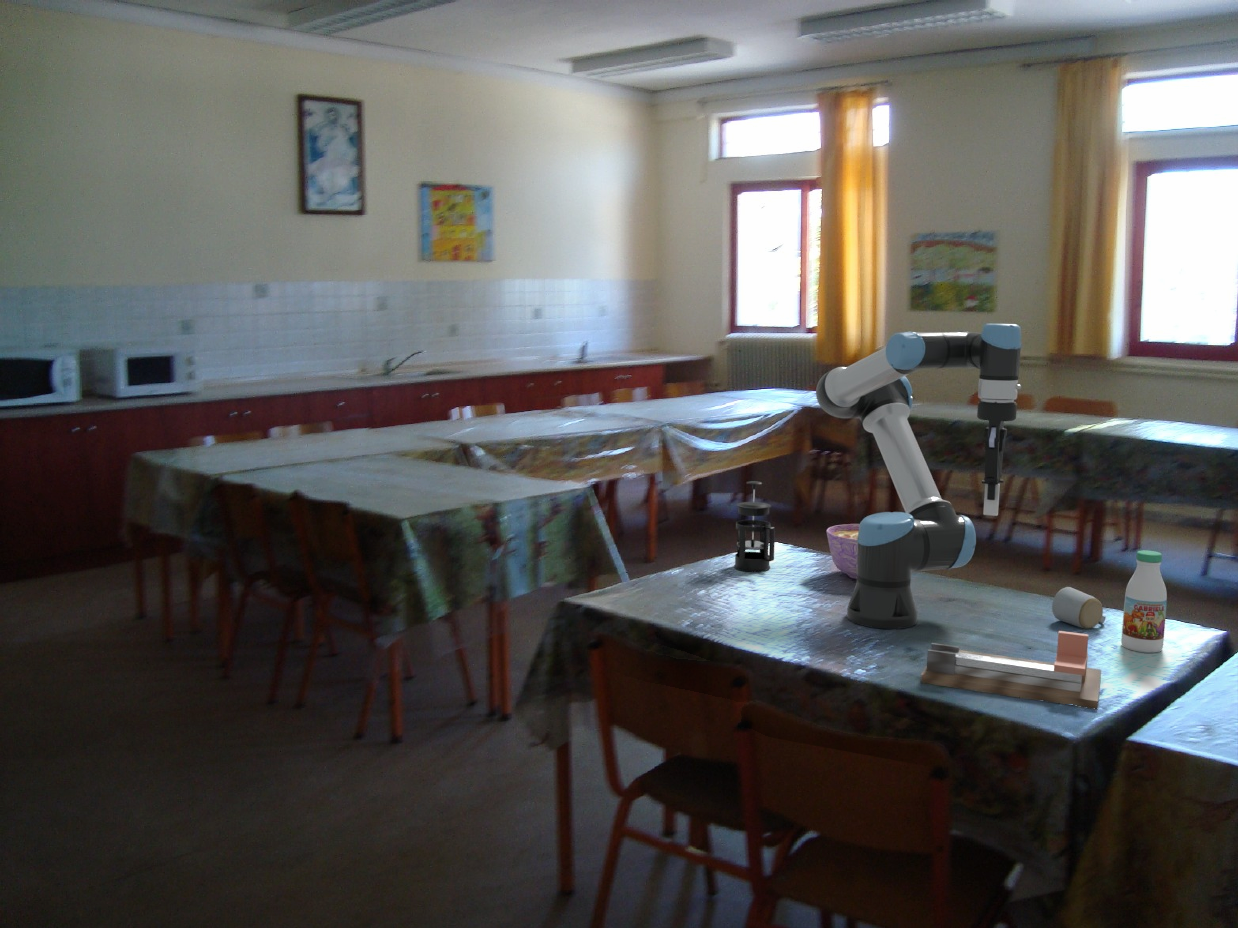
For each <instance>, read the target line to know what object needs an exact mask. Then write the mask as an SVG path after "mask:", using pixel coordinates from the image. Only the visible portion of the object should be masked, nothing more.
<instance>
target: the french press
mask: <svg viewBox="0 0 1238 928" xmlns="http://www.w3.org/2000/svg"><path fill="white" fill-rule="evenodd" d="M746 484H747V485H751V486H752V487H751V488H752V490H753V493H752V496H753V497H752V498H753V499H752V501H743V502H739V503H738V502H737V503H736V507H737V513H738V514H739V515H741V516H748V517H752V519H743V520H738V521H736V522H735V529H736V530H737V542H736V547H737V548H736V553H735V554H734V555H735V556H734V559H735V560H734V566H733V567H734V569H735V570H737V571H740V572H745V573H763V572H767V571H770V569H771V566H770V562H772V561H775V542H776V541H775V540H776V539H775V537H776V536H775V535H776V529H775V526H771V522H769V521H765V520H758V519H755V517H762V516H767V515H770V508H772V505H771V504H769V503H767V502H759V501H755V499H756V497H755V495H756V489H757V486H761V485H762V484H763V482H761V481H757V480H753V481H752V480H751V481H746ZM747 532H750V533H751V535H752V536H751V538H752V539H750V540H747V539H746V537H747V535H746V534H747ZM755 533H759V540H755V539H754V535H755ZM746 550H751V551H746ZM752 550H753V551H752ZM757 550H758V551H757Z"/></svg>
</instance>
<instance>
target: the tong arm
mask: <svg viewBox="0 0 1238 928" xmlns="http://www.w3.org/2000/svg"><path fill="white" fill-rule="evenodd" d="M944 652H951V653H956V659H955V665H961V666H968V667H975V668H982V669H988V670H995V671H1002V672H1009V673H1016V674H1023V675H1030V676H1036V677H1043V678H1050V679H1057V680H1064V681H1071V682H1078V683H1081V679H1082V675H1077V674H1070V673H1063V672H1056V671H1054V666H1052V665H1045V664H1038V663H1031V662H1024V661H1017V660H1010V659H1003V658H996V657H989V656H981V655H974V654H967V653H960V652H953V651H946V650H944Z"/></svg>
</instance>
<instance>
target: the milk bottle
mask: <svg viewBox="0 0 1238 928" xmlns="http://www.w3.org/2000/svg"><path fill="white" fill-rule="evenodd" d="M1162 560H1163V554H1162V553H1161V552H1159V551H1154V550H1147V549H1143V550H1138V551H1137V552H1136V560H1135V562H1136V564H1137V565H1136V568H1135V570H1134V573H1133V575H1132V576H1131V577H1130V579H1129V581H1128V583H1127V585H1126V588H1125V593H1124V594H1125V595H1124V602H1123V604H1124V605H1123V614H1122V627H1121V628H1122V629H1121V641H1120V643H1121V646H1123V648H1125V649H1127V650H1130V651H1132V652H1133V651H1134V652H1138V653H1148V654H1151V653H1154V654H1155V653H1159V652H1162V650H1163V647H1164V640H1165V630H1166V629H1165V626H1166V625H1165V624H1166V616H1167V615H1166V614H1167V604H1168V603H1167V602H1168V601H1167V599H1168V596H1167V595H1168V594H1167V593H1168V592H1167V588H1166V584H1165V582H1164V579H1163V577H1162V573H1161V569H1160V568H1161V567H1160V566H1161V565H1162Z"/></svg>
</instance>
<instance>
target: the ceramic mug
mask: <svg viewBox="0 0 1238 928" xmlns="http://www.w3.org/2000/svg"><path fill="white" fill-rule="evenodd" d="M1051 609H1052V610H1051V611H1052V614H1053V617H1054V618H1055V619H1056V620H1058V621H1061V622H1064V623H1066V624H1069V625H1073V626H1076V627H1077V628H1081V629H1086V630H1087V629H1088V630H1089V629H1093V628H1094V627H1096V626H1097V625H1098V624H1099V623H1100V624H1104V623H1105V621H1106V616H1104V615H1103V612H1104V609H1103V604H1102V602H1101V601H1100V600H1099V599H1098V598H1096V597H1094V596H1093V595H1090V594H1087V593H1085V592H1083V591H1080V590H1079V589H1075V588H1073V587H1071V586H1066V587H1062V588H1061V589H1060V590H1059V591H1058V592H1057V593H1056V594H1055V595H1054V597H1053V601H1052V604H1051Z"/></svg>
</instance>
